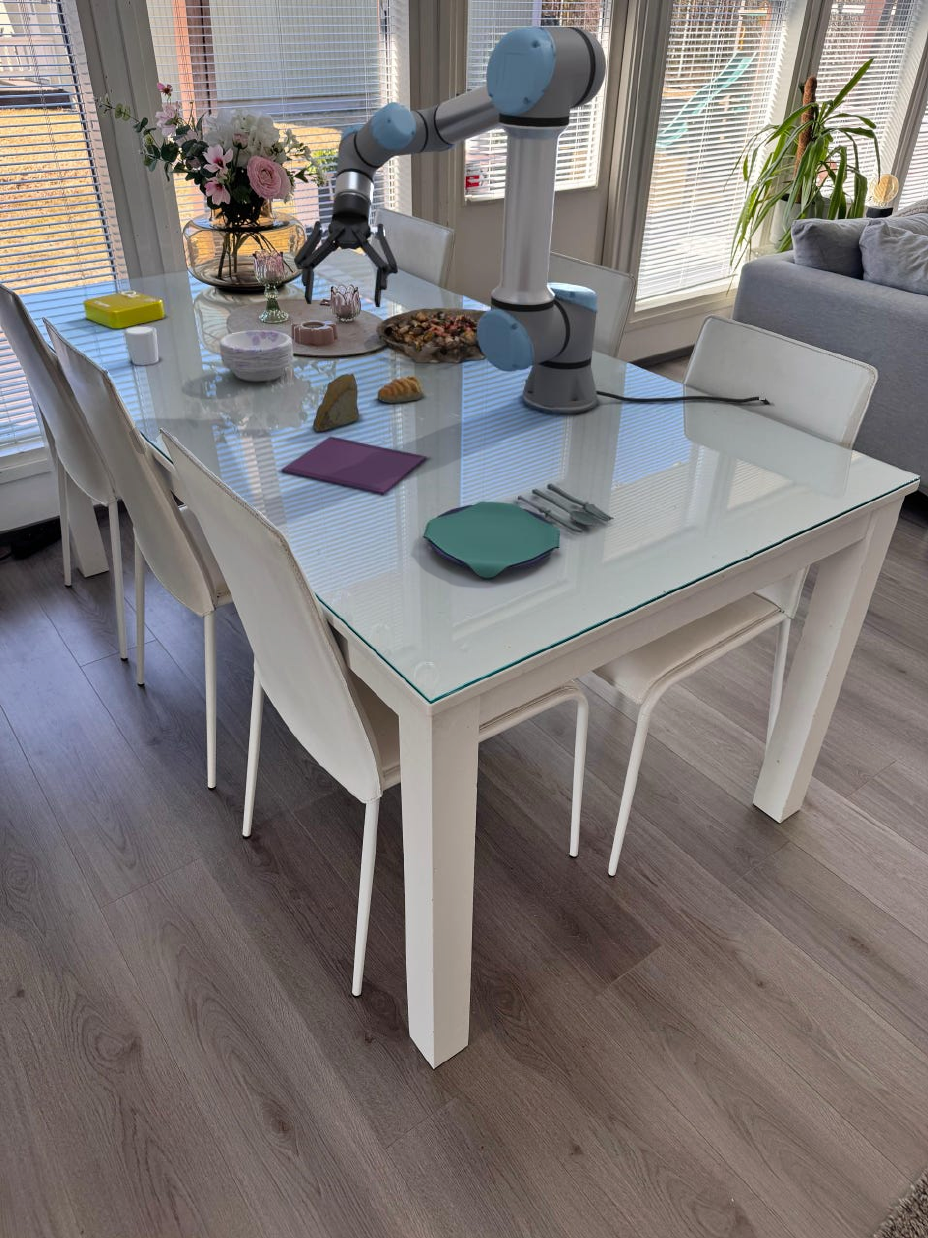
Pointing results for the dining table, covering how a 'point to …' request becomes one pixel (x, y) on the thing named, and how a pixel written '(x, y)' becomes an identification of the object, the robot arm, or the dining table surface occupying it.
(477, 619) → the dining table surface
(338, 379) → the rock
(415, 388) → the pastry
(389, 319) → the food dish
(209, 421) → the dining table surface
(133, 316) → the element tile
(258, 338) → the paper bowls
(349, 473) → the cloth
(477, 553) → the cutlery set
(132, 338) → the white cylinder
